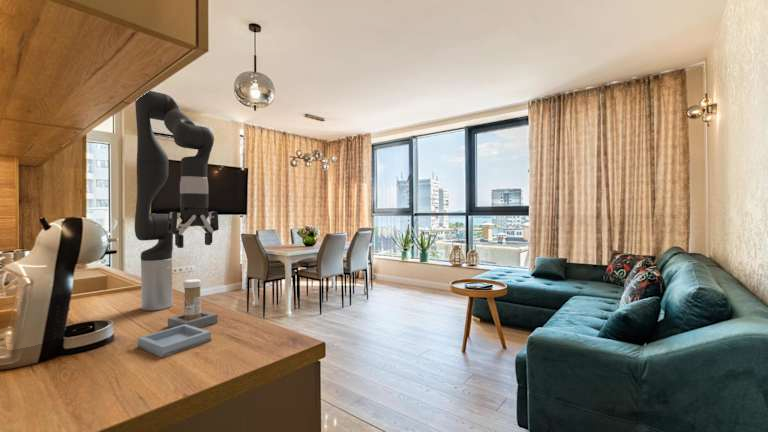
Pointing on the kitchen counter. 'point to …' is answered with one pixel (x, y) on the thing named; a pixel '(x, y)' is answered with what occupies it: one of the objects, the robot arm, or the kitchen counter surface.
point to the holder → (200, 322)
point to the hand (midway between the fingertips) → (194, 246)
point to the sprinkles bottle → (192, 299)
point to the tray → (173, 340)
